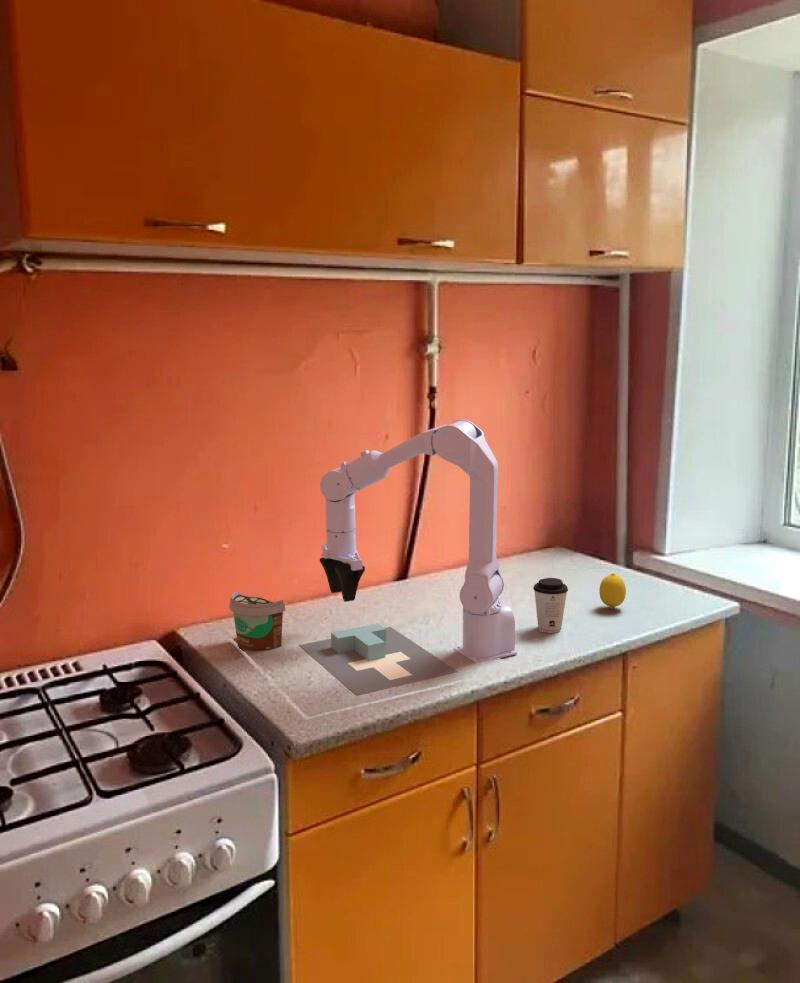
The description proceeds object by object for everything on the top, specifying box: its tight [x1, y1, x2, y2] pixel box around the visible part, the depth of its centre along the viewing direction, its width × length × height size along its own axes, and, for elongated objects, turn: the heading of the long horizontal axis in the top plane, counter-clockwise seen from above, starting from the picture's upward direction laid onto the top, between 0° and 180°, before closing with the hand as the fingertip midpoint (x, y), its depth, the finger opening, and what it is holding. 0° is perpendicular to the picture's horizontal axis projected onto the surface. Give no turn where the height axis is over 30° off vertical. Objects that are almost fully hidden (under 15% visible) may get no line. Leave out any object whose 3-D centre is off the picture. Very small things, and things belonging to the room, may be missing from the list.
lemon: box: [599, 572, 627, 610], centre depth 190 cm, size 6×6×8 cm
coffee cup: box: [532, 577, 569, 634], centre depth 179 cm, size 7×7×10 cm
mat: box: [298, 626, 458, 696], centre depth 165 cm, size 20×26×1 cm
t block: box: [330, 623, 386, 661], centre depth 168 cm, size 10×10×3 cm
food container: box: [228, 590, 286, 652], centre depth 170 cm, size 12×6×10 cm, turn 56°
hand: (342, 596), depth 175 cm, fingers open, 5 cm apart
